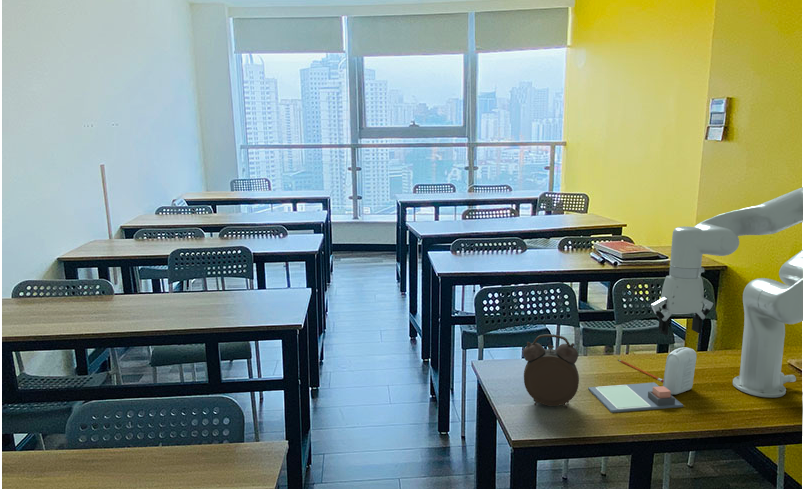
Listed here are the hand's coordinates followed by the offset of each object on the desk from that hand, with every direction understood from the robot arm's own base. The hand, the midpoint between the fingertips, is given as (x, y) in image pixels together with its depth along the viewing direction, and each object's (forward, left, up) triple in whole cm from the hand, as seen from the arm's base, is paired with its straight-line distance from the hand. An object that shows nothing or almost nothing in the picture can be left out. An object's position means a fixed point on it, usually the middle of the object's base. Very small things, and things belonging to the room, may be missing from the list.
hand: (679, 332), depth 152 cm
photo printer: (0, 0, -17) cm, 17 cm away
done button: (+8, +6, -16) cm, 19 cm away
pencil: (+3, -15, -18) cm, 23 cm away
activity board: (+14, +2, -17) cm, 22 cm away
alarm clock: (+38, +2, -18) cm, 42 cm away
